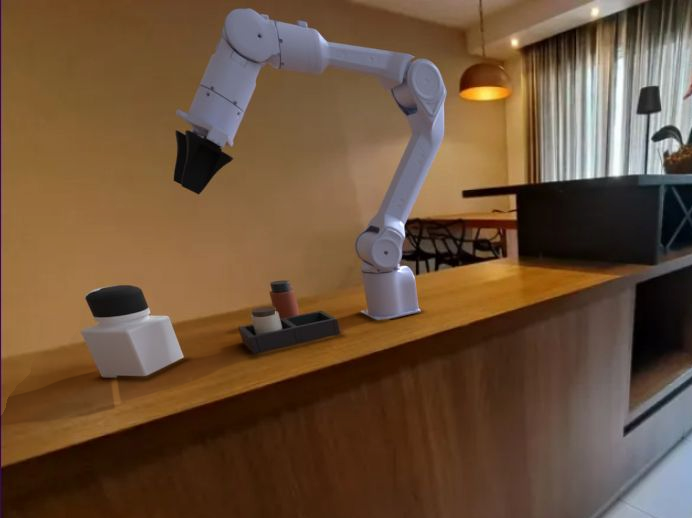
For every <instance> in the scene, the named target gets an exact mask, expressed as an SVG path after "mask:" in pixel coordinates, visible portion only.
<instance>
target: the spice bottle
mask: <svg viewBox="0 0 692 518" xmlns="http://www.w3.org/2000/svg"><path fill="white" fill-rule="evenodd" d="M269 285H270V289H271V290H270V291H269V298H270V300H271V301H270V302H271V304H272V307H275V309H276V311H277V312H278V313H279V317H280V319H282V318H287V317H292V316H297V315H301V314H300V308H299V305H298V301H297V296H296V292H295V289H294V288H292V287H291V284H290V281H289V280H274V281H272V282H270V284H269Z"/></svg>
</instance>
